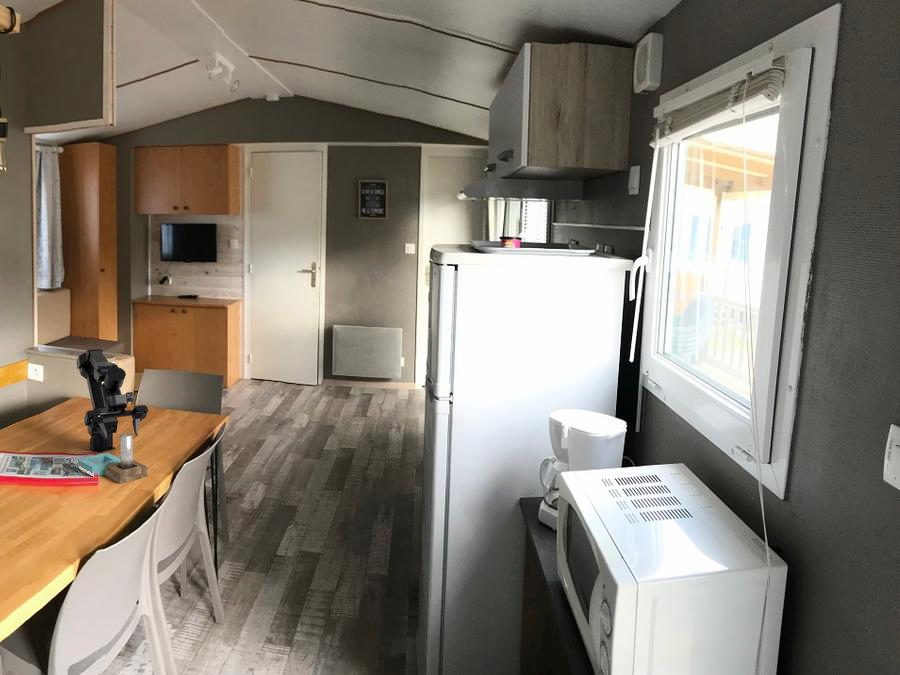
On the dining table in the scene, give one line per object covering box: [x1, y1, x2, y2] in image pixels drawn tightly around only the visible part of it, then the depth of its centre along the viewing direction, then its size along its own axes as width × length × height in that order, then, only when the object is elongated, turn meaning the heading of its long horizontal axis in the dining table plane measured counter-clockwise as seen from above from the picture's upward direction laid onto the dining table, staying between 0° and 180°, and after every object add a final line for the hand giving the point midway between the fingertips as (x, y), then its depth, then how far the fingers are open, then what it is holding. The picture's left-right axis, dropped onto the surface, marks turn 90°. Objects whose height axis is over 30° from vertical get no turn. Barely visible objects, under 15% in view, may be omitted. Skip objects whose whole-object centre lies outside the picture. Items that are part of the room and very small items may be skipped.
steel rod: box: [119, 433, 134, 470], centre depth 214 cm, size 4×4×14 cm
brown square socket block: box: [105, 459, 148, 484], centre depth 215 cm, size 9×9×4 cm
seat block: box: [77, 452, 120, 477], centre depth 219 cm, size 10×10×4 cm
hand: (121, 436), depth 217 cm, fingers open, 9 cm apart
